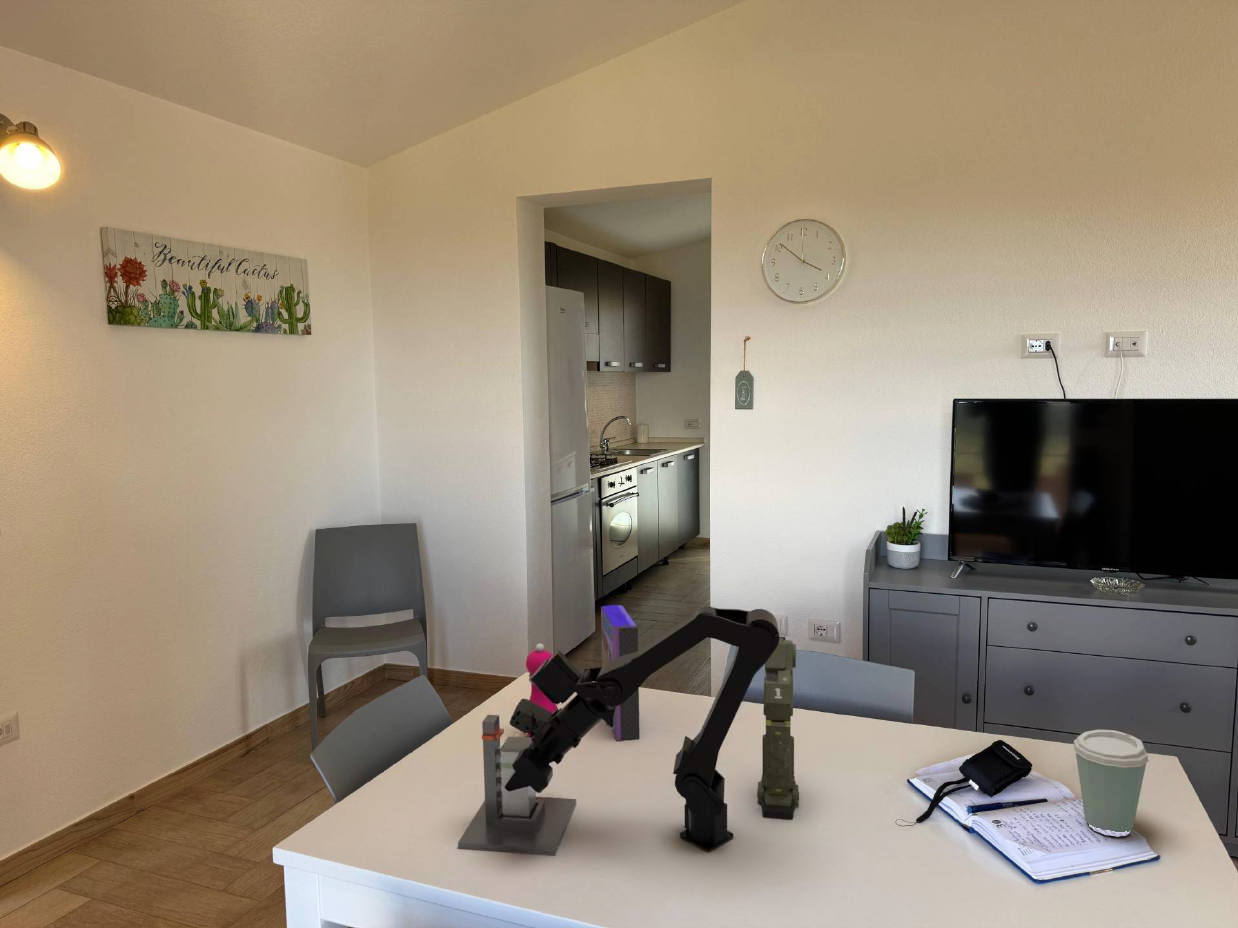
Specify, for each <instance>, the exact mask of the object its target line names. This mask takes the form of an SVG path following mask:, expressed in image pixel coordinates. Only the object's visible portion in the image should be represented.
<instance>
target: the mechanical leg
mask: <svg viewBox="0 0 1238 928" xmlns="http://www.w3.org/2000/svg"><path fill="white" fill-rule="evenodd" d="M796 663H797V645H796V643H793V641H792V640H790V639H789V640H787V639H786V637H785V636H779V643H778V646H777V648H776V650H775V651H774V652H773V654H772V655H771V657H770V658H769V659H768V661H767V662H766V663H765V664H764V673H765V677H764V678H763V716H765V734H762V746H761V747H762V749H761V750H762V774H761V779H760V781H758V782H757V789H756V790H757V791H756V792H757V793H756V795H757V796H756V797H757V803H758V804H760V807H761V814H762V815H761V816H762V818H764V819H765V818H766V819H775V820H776V819H777V820H788V821H792V820H794V817H795V816H794V815H795V810H796V807H798V806H799V801H800V792H799V784H797V783H796V778H795V737H794V736H793V735H791V729H792V727H791V718H792V716H794V674H793V673H794V672H793V671H794V670H793V669H795V668H796V667H797V666H796V665H797V664H796Z"/></svg>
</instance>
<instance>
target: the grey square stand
mask: <svg viewBox="0 0 1238 928" xmlns="http://www.w3.org/2000/svg"><path fill="white" fill-rule="evenodd" d="M481 725H482V726H481V727H482V728H481V729H482V735H481V740H482V748H483V749H482V752H483V753H482V754H483V755H482V756H483V778H484V779H483V780H484V781H483V784H484V785H483V786H484V801H483V802H482V804H481V805H480V807H479V808H478V810H477V811H476V813H475V815H474V816H473V818H472V819H471V822H470V823H469V824H468V826H467V828H466V830H464V833H463V834H462V835H461V837H460V839H459V840H458V842H457V845H458V849H461V850H463V849H464V850H476V851H477V850H478V851H487V852H488V851H489V852H490V851H491V852H501V853H502V852H503V853H504V852H505V853H515V854H516V853H517V854H530V855H542V856H556V855H557V853H558V851H559V848H560V845H561V843H562V840H563V838H564V835H565V833H566V832H567V831H566V830H567V829H568V826H569V823H570V821H571V819H572V816H573V813H574V811H575V808H576V807H577V798H564V797H563V798H562V797H549V796H548V797H547V796H536V809H535V811H534V813H533V815H532V817H531V819H526V818H511V817H503V806H502V776H501V737H502V735H504V733H505V729H504V728H501V727H500V715H499V714H487V716H485V718H484V719H483V720H482V723H481Z"/></svg>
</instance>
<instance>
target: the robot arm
mask: <svg viewBox="0 0 1238 928" xmlns="http://www.w3.org/2000/svg"><path fill="white" fill-rule="evenodd" d="M779 637H780V631H779V625H778V621H777V619H776V616H774V615H773V613H772V612H770V611H769V610H766V609H764V608H755V609H752V610H744V609H738V608H717V607H713V606H708V605H707V606H706V605H705V606H702V607H699V608H698V609H697V611H696V612H695V613H693V614H692V615H690V616H689V617H687V618H686V619H684V620H682V621H681V622H680V623H678V624H677V625H676V626H673V628H671V629H669V630H668V631H666V632H665V633H663V634H662V635H661V636H659V637H657V638H656V639H654V640H653V641H651V642H649V644H647V645H646V646H644V647H642V648H641V649H638V651H637V652H634V653H631V654H626V655H623V656H621V657H619V658H616V659H614V660H612V661H609V662H607V663H606V664H605V665H604V666H594V667H585V668H583V669H582V671H580V670H578V668H577V667H576V666H575V665H573V663H572V662H570V661H569V659H568V657H566V655H565V653H563V652H562V651H561V650H558V651H557V652H555V654H552V655H553V656H552V657H551V658H550V659H547V660H546V661H545V662H544V663H543V664H542V665H541V666H540V667H539V668H538V669H537V670H536V671H535V673H534V674H533V675H532V676H531V677H530V679H529V678H528V681H529V680H530V681H531V682H532V683H533V684H534V685H535V686H536V687H537V688H538V689H539V690H540V691H541V692H542V693H543V694H544V695H545V696H546V697H547V698H548V699H549V700H550V701H551V702H552V703H553V704H554V703H556V705H557V706H559V704H564V703H566V702H567V701H568V700H569V699H570V698H571V697H572V696H573V695H574V694H575V696H574V697H573V698H572V699H571V700H569V701H568V702H567V703H566V704H565V705H564V706H563V707H562V708H561V707H560V708H558V709H556V710H555V711H554V712H553V713H551V712H549V711H548V710H546V709H545V708H544V707H542V706H540V705H538V704H536V703H534V702H532V701H530V700H529V699H528V698H521V699H520V701H519V702H518V703H517V704H516V706H515V709H514V711H513V714H512V715H511V717H510V720H509V725H510V726H511V727H513V728H514V729H516V730H518V731H519V732H520V731H521V732H522V733H524V734H527V733H529V734H531V735H530V738H531V740H532V741H533V742H534V748H533V749H532V748H525V749H524V750H523V751H520V753H519V754H518V756H517V758H516V759H515V761H514V763H513V764H512V766H513V769H514V770H515V772H514V774H513V775H512V777H511V778H510V779H509V781H508V782H507V784H506V785H505V789H506V790H507V791H509V792H510V791H513V790H517V789H521V788H524V787H528V786H531V787H532V788H533V789H534V790H535V791H536V794H541V793H542V792H543V791H544V790H545V789H546V788H547V787H549V784H550V783H551V781H552V779H553V776H554V775H553V774H554V771H553V767H552V766H551V765H550V764H551V763H553V762H554V763H555V764H556V765H559V764H560V763H561V762H562V761H563V759H564V757H565V756H566V754H568V752H569V751H570V750H572V749H576V748H577V747H578V746H579V745H580V743H581V741H582V739H583V738H584V737H585V736H586V735H587V734H588V733H589V732H590V731H592V729H594V728H595V727H596V726H597V724H599V723H600V722H601V721H603V722H604V723H605V724H606V725H607V726H608V727H610V728H611V727H613V726H614V723H615V720H616V718H617V716H616V708H617V706H619V705H621V704H623V703H624V702H625V701H626V700H627V699H628V698H629V697H630V696H631V695H632V694H633V693H634V692H635V691H636V690H637V689H638V688H639V689H640V687H641V686H642V684H643V683H644V682H646V680H647V679H648V678H649V677H650V676H652V674H654V673H655V672H657V671H659V670H660V669H661V668H662V669H663V667H665V666H667V664H670V663H671V662H672V661H674V660H675V659H677V658H678V657H680V656H681V655H683V654H684V653H686V652H687V651H689V650H691V649H692V648H693V647H695V646H697V645H698V644H699V643H701V642H702V641H704V640H706V639H707V638H709V639H715V640H718V641H721V642H723V643H725V644H728V645H730V646H734V647H735V651H734V656H733V660H732V661H731V663H730V665H729V668H728V670H727V672H726V674H725V676H724V679H723V681H722V683H721V685H720V687H719V689H718V692H717V693H716V696H715V698H714V701H713V703H712V705H711V708H710V710H709V712H708V713H707V716H706V718H705V720H704V722H703V725H702V726H701V729H700V731H699V732H698V734H697V735H696V736H694V738H693V739H691V738H690V737H688V735H687V736H686V735H685V736H684V739H683V743H682V747H681V749H680V750H679V751H678V752H677V753H676V754H675V759H674V767H673V772H672V774H673V775H675V777H674V788H675V789H676V792H677V793H678V794H679V795H680V797H682V798H684V799H685V804H684V806H683V808H684V830H683V831H681V832H679V838H681V839H683V840H685V841H686V842H688V843H691V844H692V845H694V846H696V847H698V848H699V849H702V850H704V851H706V852H712V851H714V849H717V848H718V847H719V846H722V845H723V844H726V842H728V841H730V840H732V839H733V838H734V837H735V836H734V832H731V831H729V830H728V803H726V802H725V783H726V782H725V781H726V779H725V777H724V776H723V775H722V774H721V773H720V772H719V771H718V770H717V769H716V768H717V763H718V758H719V753H720V750H721V747H722V745H723V743H724V741H725V739H726V737H727V735H728V733H729V730H730V728H731V725H732V724H733V722H734V719H735V718H736V715H737V713H738V711H739V709H740V706H741V705H742V702H743V701H744V698H745V696H746V694H747V692H748V690H749V688H750V685H751V683H752V681H753V679H754V676H755V675H756V674H757V673H758V672H759V671H760V669H762V668H763V666H765V663H766V662H767V661H768V659H769V658H770V657H771V655H772V654H773V652H774V651H775V650H776V648H777V646H778V643H779ZM531 682H530V683H531Z"/></svg>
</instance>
